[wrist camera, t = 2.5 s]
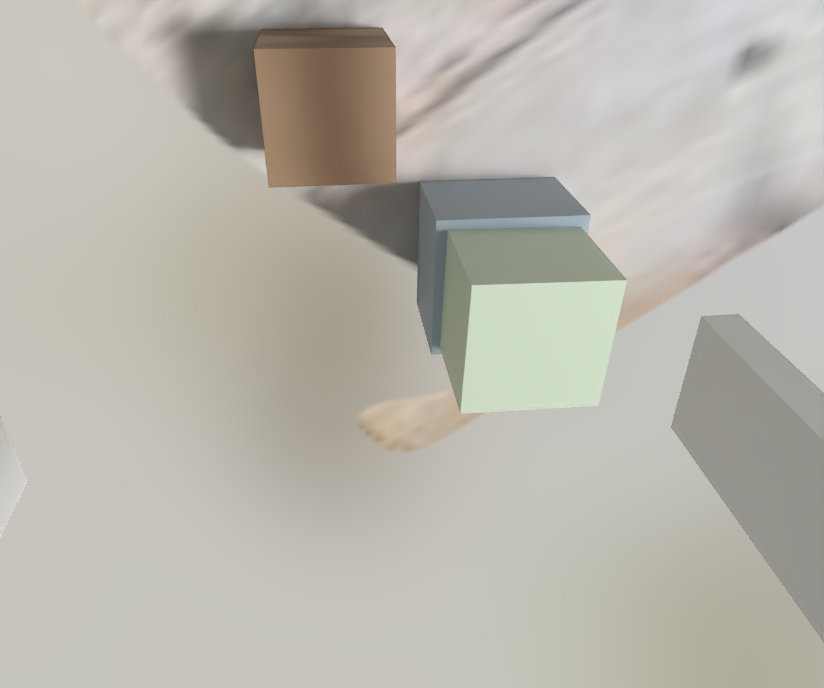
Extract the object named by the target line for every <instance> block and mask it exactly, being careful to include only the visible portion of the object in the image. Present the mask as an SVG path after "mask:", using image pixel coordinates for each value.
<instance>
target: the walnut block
mask: <svg viewBox="0 0 824 688" xmlns="http://www.w3.org/2000/svg"><path fill="white" fill-rule="evenodd" d="M253 50H254V59H255V68H256V77H257V86H258V95H259V104H260V113H261V122H262V131H263V140H264V149H265V158H266V167H267V176H268V185H269V187H296V186H324V185H351V184H378V183H396V54H395V46H394V44H393V43H392V41H391V40H390V38H389V37H388V35H387V34H386V32H385V31H384V29H383V28H327V29H261V32H260V34H259V37H258V39H257V41H256V44H255V46H254V49H253Z"/></svg>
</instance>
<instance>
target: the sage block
mask: <svg viewBox="0 0 824 688" xmlns="http://www.w3.org/2000/svg"><path fill="white" fill-rule="evenodd" d="M626 283H627V279H626V278H625V277H624V276H623V275H622V274H621V273H620V271H619V270H618V269H617V268H616V267H615V266H614V265H613V263H612V262H611V261H610V260H609V259H608V258H607V256H606V255H605V254H604V253H603V252H602V251H601V250H600V248H599V247H598V246H597V245H596V244H595V243H594V242H593V240H592V239H591V238H590V237H589V236H588V235H587V233H586V232H585V231H584V230H583V229H582V228H581V227H557V228H512V229H468V230H447V245H446V261H445V276H444V292H443V307H442V323H441V338H440V348H441V352H442V355H443V358H444V362H445V364H446V368H447V371H448V375H449V378H450V381H451V384H452V388H453V391H454V394H455V398H456V401H457V404H458V407H459V411H460V414H463V413H480V412H497V411H514V410H530V409H548V408H566V407H582V406H598V405H599V400H600V396H601V392H602V387H603V383H604V379H605V374H606V370H607V365H608V361H609V357H610V352H611V348H612V344H613V339H614V335H615V331H616V326H617V322H618V318H619V313H620V309H621V304H622V300H623V296H624V291H625V287H626Z"/></svg>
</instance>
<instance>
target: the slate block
mask: <svg viewBox="0 0 824 688" xmlns="http://www.w3.org/2000/svg"><path fill="white" fill-rule="evenodd" d="M589 221H590V214H589V213H588V212H587V211H586V210H585V209H584V208H583V207H582V206H581V205H580V203H579V202H578V201H577V200H576V199H575V198H574V197H573V196H572V195H571V194H570V193H569V192H568V191H567V190H566V189H565V187H564V186H563V185H562V184H561V183H560V182H559V181H558V180H557V179H556V178H555V177H552V178H517V179H482V180H447V181H420V200H419V244H418V278H417V280H418V281H417V305H418V308H419V312H420V316H421V319H422V322H423V326H424V329H425V333H426V337H427V340H428V344H429V347H430V351H431V354H442V352H441V348H440V338H441V323H442V307H443V292H444V276H445V261H446V245H447V230H468V229H512V228H557V227H581V228H582V229H583V230H584V231H585V232H586V233H588V227H589Z"/></svg>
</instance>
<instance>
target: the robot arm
mask: <svg viewBox="0 0 824 688" xmlns="http://www.w3.org/2000/svg"><path fill="white" fill-rule="evenodd" d="M671 428H672V429H673V431H674V432H675V433H676V435H677V436H678V438H679V439H680V440H681V442H682V443H683V445H684V446H685V448H686V449H687V450H688V452H689V453H690V455H691V456H692V457H693V459H694V460H695V461H696V463H697V464H698V466H699V467H700V469H701V470H702V471H703V473H704V474H705V476H706V477H707V478H708V480H709V481H710V483H711V484H712V486H713V487H714V488H715V490H716V491H717V492H718V494H719V495H720V497H721V498H722V500H723V501H724V502H725V504H726V505H727V507H728V508H729V509H730V511H731V512H732V514H733V515H734V517H735V518H736V519H737V521H738V522H739V523H740V525H741V526H742V528H743V529H744V531H745V532H746V533H747V535H748V536H749V538H750V539H751V540H752V542H753V543H754V545H755V546H756V548H757V549H758V550H759V552H760V553H761V554H762V556H763V557H764V559H765V560H766V562H767V563H768V564H769V566H770V567H771V568H772V570H773V571H774V573H775V574H776V576H777V577H778V579H779V580H780V581H781V583H782V584H783V586H784V587H785V588H786V590H787V591H788V593H789V594H790V595H791V596H792V598H793V600H794V601H795V603H796V604H797V605H798V607H799V608H800V610H801V611H802V612H803V614H804V615H805V616H806V618H807V619H808V621H809V622H810V624H811V625H812V626H813V628H814V629H815V630H816V632H817V634H818V635H819V636H820V638H821V639H822V640H823V642H824V393H823V392H822V391H821V390H820V389H819V388H818V387H816V385H815V384H814V383H812V382H811V381H810V380H809V379H808V378H807V377H806V376H805V375H804V374H803V373H802V372H800V370H798V369H797V368H796V367H795V366H794V365H793V364H792V363H791V362H790V361H789V360H788V359H786V358H785V357H784V356H783V355H782V354H781V353H780V352H779V351H778V350H777V349H776V348H774V346H772V345H771V344H770V343H769V342H768V341H767V340H766V339H765V338H764V337H763V336H762V335H761V334H760V333H758V332H757V331H756V330H755V329H754V328H753V327H752V326H751V325H750V324H749V323H748V322H747V321H745V320H744V319H743V318H742V317H741V316H740V315H739V314H731V315H715V316H702V317H701V319H700V323H699V327H698V330H697V334H696V338H695V341H694V345H693V349H692V352H691V356H690V359H689V363H688V367H687V371H686V374H685V378H684V381H683V385H682V389H681V392H680V396H679V400H678V403H677V407H676V411H675V414H674V418H673V422H672V425H671ZM27 483H28V481H27V479H26V477H25V474H24V472H23V469H22V467H21V464H20V462H19V460H18V457H17V455H16V453H15V450H14V448H13V445H12V443H11V441H10V438H9V436H8V433H7V431H6V429H5V427H4V424H3V421H2V419H1V417H0V537H1V535H2V533H3V531H4V529H5V527H6V525H7V523H8V521H9V519H10V517H11V515H12V513H13V511H14V509H15V507H16V505H17V503H18V501H19V499H20V497H21V495H22V493H23V491H24V489H25V487H26V485H27Z"/></svg>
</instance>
